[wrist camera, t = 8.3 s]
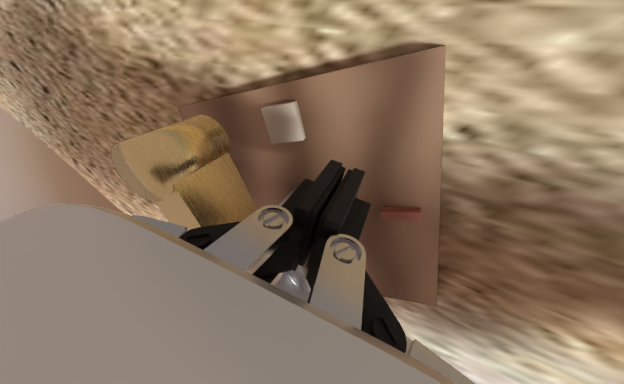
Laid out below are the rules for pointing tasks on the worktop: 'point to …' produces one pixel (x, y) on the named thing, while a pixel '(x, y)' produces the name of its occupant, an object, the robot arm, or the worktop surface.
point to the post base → (354, 154)
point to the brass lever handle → (193, 180)
